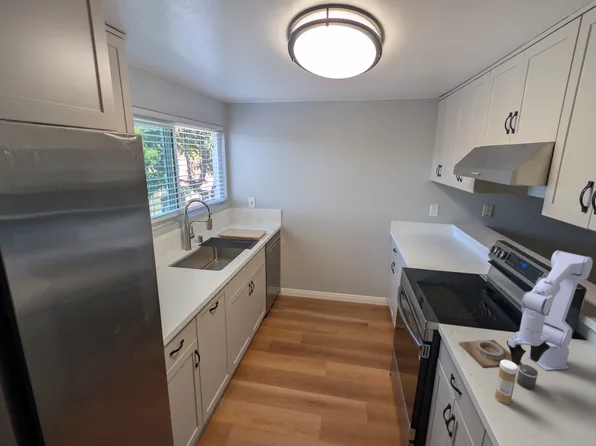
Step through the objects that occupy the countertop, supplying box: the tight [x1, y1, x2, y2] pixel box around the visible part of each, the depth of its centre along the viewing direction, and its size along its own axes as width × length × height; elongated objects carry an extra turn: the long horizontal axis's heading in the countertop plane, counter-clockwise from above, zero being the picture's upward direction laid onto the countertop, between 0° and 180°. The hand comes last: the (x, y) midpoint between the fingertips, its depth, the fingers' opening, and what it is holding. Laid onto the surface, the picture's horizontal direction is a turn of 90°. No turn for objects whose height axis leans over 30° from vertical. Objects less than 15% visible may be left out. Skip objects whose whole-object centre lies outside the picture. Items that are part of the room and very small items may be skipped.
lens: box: [516, 363, 539, 391], centre depth 98 cm, size 5×5×6 cm
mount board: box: [458, 339, 523, 368], centre depth 114 cm, size 16×14×3 cm
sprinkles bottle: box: [494, 360, 519, 405], centre depth 91 cm, size 5×5×14 cm
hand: (524, 361), depth 98 cm, fingers open, 7 cm apart
